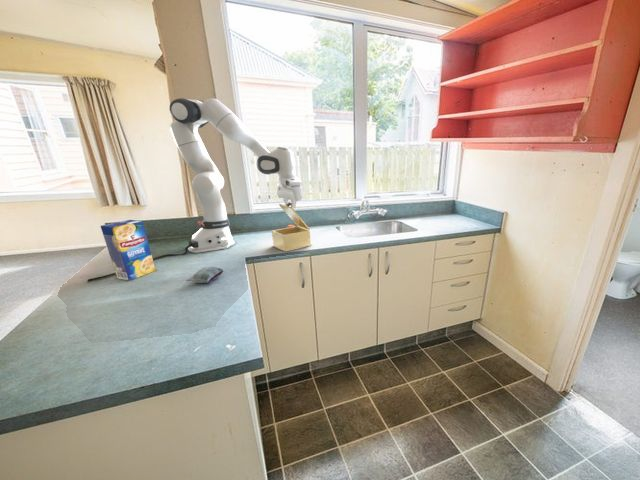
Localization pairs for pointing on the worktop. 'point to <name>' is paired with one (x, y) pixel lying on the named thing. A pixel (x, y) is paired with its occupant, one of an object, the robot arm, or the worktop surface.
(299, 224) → the lid
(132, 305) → the worktop surface
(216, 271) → the packaged food
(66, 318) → the worktop surface
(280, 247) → the yellow open box
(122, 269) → the beverage box
